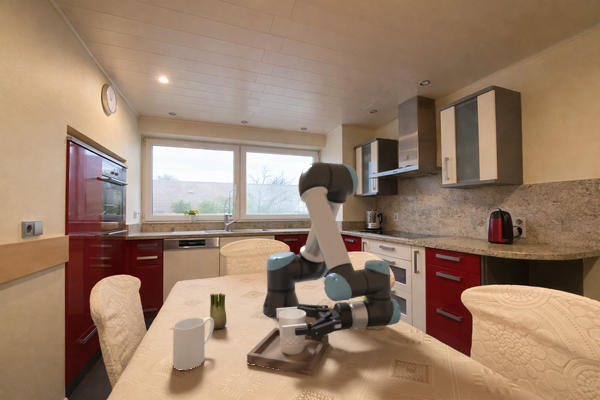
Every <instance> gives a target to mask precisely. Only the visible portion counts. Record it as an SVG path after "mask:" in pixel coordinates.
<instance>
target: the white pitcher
mask: <svg viewBox="0 0 600 400" xmlns="http://www.w3.org/2000/svg"><path fill="white" fill-rule="evenodd" d="M208 321H210V322H209V323H210V325H209V330H208V331H207V332H208V333H207V335H206V336H205V332H206V329H205V328H206V326H205V325H206V324H205V323H207V322H208ZM172 329H173V330H172V331H173V333H172V334H173V337H172V338H173V339H172V340H173V341H172V342H173V343H172V346H173V347H172V349H173V350H172V367H173V366H174V367H175V368H177V369H182V370H185V369H190V368H194V367H196V368H198V367H199V366H198V365H200V364H201V363H202V362H203V361H204V362H205V345H206V344H207V343H208V341H209V340H210V338H211V336H212V334H213V331H214V320H213V318H211V317H210V316H207V317H205V318H201V317H189V318H184V319H181V320H178V321H177V322H175V323H174V324H173V328H172ZM204 362H203V363H204ZM203 363H202V364H203ZM202 364H201V365H202ZM201 365H200V366H201ZM197 366H198V367H197ZM174 367H173V368H174ZM194 369H195V368H194Z"/></svg>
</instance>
